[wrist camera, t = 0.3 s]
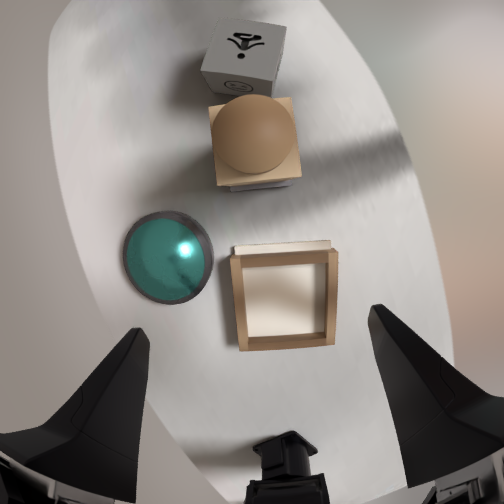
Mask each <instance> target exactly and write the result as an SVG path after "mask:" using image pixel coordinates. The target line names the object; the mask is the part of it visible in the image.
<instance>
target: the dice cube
mask: <svg viewBox="0 0 504 504" xmlns="http://www.w3.org/2000/svg"><path fill="white" fill-rule="evenodd" d="M286 28H287V27H285V26H280V25H275V24H269V23H263V22H256V21H248V20H240V19H229V18H218V21H217V23H216V26H215V29H214V31H213V34H212V37H211V40H210V43H209V45H208V48H207V51H206V54H205V57H204V60H203V63H202V66H201V69H200V71H201V73H202V75H203V76H204V78H205V80H206V82H207V83H208V85H209V87H210V89H211V90H212V92H215V93H223V94H229V95H236V96H244V95H251V94H256V95H263V96H267V97H270V98H272V95H273V91H274V87H275V83H276V79H277V75H278V71H279V67H280V63H281V59H282V55H283V48H284V42H285V35H286Z"/></svg>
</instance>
